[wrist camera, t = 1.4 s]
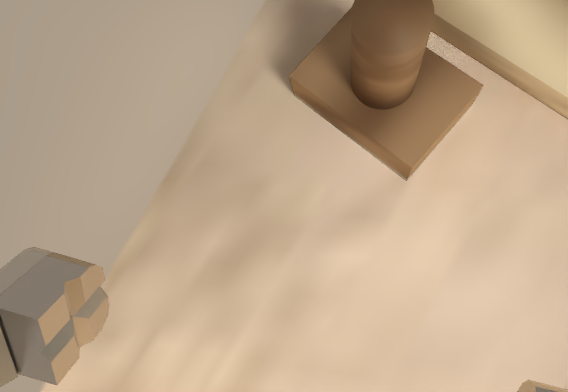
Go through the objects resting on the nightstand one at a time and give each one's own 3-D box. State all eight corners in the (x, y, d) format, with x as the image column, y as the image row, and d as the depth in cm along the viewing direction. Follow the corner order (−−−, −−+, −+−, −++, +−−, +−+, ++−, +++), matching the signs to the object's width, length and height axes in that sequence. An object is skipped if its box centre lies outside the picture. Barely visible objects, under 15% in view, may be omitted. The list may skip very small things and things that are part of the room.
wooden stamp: (295, 96, 26) (271, 10, 19) (356, 29, 27) (358, -83, 19) (406, 181, 24) (431, 123, 17) (470, 106, 25) (524, 16, 17)
